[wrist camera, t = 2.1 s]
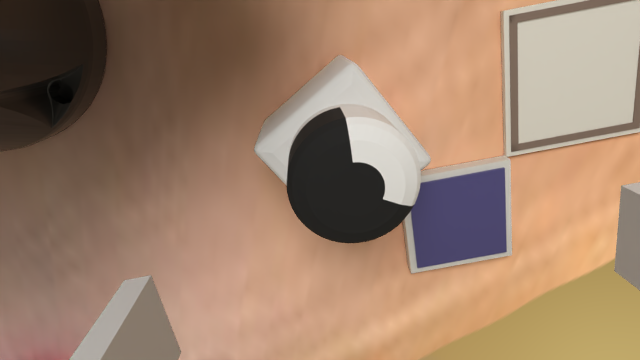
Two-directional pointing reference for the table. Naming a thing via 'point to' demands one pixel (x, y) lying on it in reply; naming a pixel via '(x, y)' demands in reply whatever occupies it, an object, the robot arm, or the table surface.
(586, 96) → the print card
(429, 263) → the ink pad
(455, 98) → the table surface
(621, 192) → the robot arm
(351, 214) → the medicine bottle
